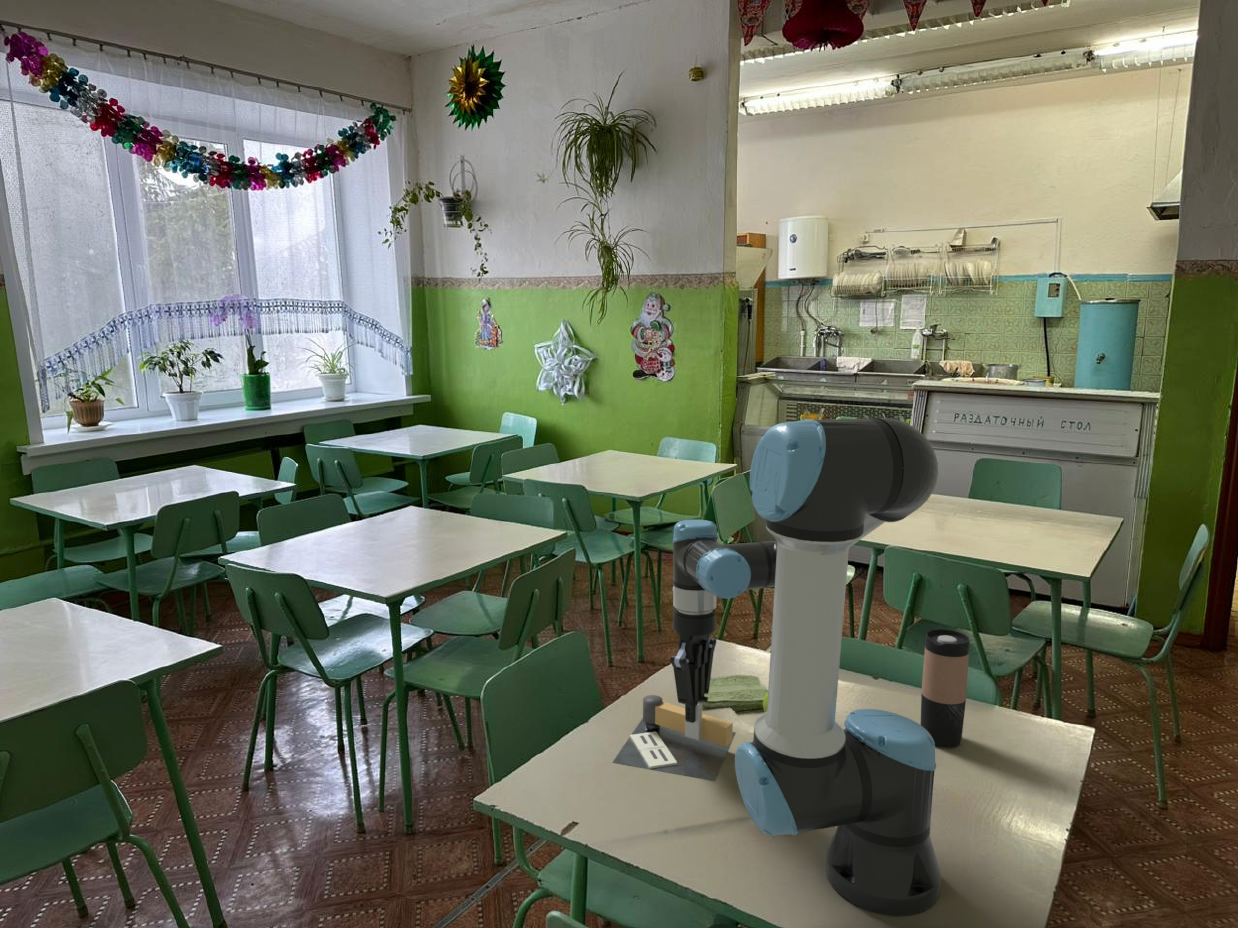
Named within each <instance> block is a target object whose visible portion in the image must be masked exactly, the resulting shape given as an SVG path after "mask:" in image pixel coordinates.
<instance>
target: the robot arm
mask: <svg viewBox="0 0 1238 928" xmlns="http://www.w3.org/2000/svg"><path fill="white" fill-rule="evenodd" d="M936 455H937V454H936V452H935V450H934V448H933V445H932V444H931V442H930V441H929V440H928V439H927V438H926V436H925V435H924V434H923V433H922V432H920V430H918V429H917V428H916V427H914V426H913V425H911V424H908V423H907V422H905V421H902V420H899V419H896V418H889V417H872V418H847V419H846V418H841V419H840V418H838V419H837V418H832V419H830V418H829V419H826V418H825V419H823V418H822V419H810V418H806V419H801V420H797V421H788V422H787V421H786V422H780V423H777V424H775V425H773V426H772V427H770V428H768V430H766V432H765V434H764V435H763V436H762V437H761V438H760V440H759V441H758V443H757V446H756V448H755V450H754V454H753V456H752V461H751V465H750V470H749V490H750V492H752V495H751V502H752V505H753V507H754V508H753V509H755V511H756V513H757V514H758V515H759V517H761V518H762V519H763V520H765V521H766V523H765V528H766V530H767V532H769V533H770V534H771V536H772V537H773V538H774V539H775V540H770V541H767V540H766V541H757V542H756V541H755V542H744V543H743V542H742V543H730V544H729V543H728V544H727V543H726V544H723V543H720V542H718V539H719V536H718V530H717V525H716V523H714V522H713V521H710V520H706V519H685V520H680V521H678V522H676V523H675V524H674V527H673V538H672V541H671V544H672V555H673V556H672V571H673V572H672V573H673V575H672V585H673V587H672V589H671V590H672V593H673V595H672V598H673V599H672V601H673V602H672V603H673V604H672V606H673V607H674V609H673V610H672V629H673V630H674V631H675V632H676V633H677V634H678V636H679V639H678V644H677V648H678V652H677V654H676V655H674V654H672V655H671V656H670V660H669V661H670V663H671V665H672V667H673V668H672V669H673V675H674V681H675V689H676V690H675V691H676V697H677V702H678V703H679V704H683V705H684V708H685V736H686V737H689V738H693V739H696V740H699V739H700V738H702V714H703V710H702V701H704V702H707V701H708V697H705V696H704V695H705V694H708V693H709V686H710V678H712V668H713V662H714V661H713V660H714V653H715V649H716V646H717V639H716V638H712V637H710V635H711V634H713V633H714V632H716V629H717V612H716V610H715V609H716V608H717V598H720V599H733V598H736V597H737V596H739V595H741V594H742V593H744V592H745V591H746V590H756V589H765V588H773V587H774V590H773V591H774V592H773V593H774V594H773V607H772V608H773V609H772V624H771V640H770V641H771V642H770V658H769V673H768V674H769V675H768V687H767V688H768V689H767V690H768V703H767V712H764V713H762V714H761V715H760V716H758V717H757V719H756V720H755V722H754V726H753V727H754V728H753V738H752V739H753V741H752V742H749V741H744V743H742V744H740V745H739V746H738V747H737V748H736V750H735V754H734V768H735V775H736V780H737V785H738V789H739V791H740V794H741V798H742V801H743V804H744V806H745V808H746V810H747V812H748V815H749V816H750V818H751V820H752V822H753V823H754V824H755V826H756V827H757V828H758V830H760V831H761V832H762V833H763V834H765V835H766V836H767V835H768V836H770V837H771V836H772V837H777V836H785V835H792V836H797V834H799V833H804V832H805V833H806V832H809V831H816V830H823V829H828V828H829V829H830V828H834V827H836V829H835V832H834V834H833V837H832V839H831V840H830V842H829V846H828V848H827V851H826V856H825V857H826V858H825V874H826V877H827V880H828V882H829V883H830V885H831V886H832V887H833V889H834V890H835V891H836V892H837V893H838V894H839V895H840V896H841V897H843V898H844V899H846V900H847V901H849V902H851V903H852V904H854V905H855V906H858V907H861V908H863V909H865V910H867V911H871V912H874V913H879V914H882V915H883V914H884V915H891V916H909V915H915V914H919V913H922V912H924V911H926V910H928V909H930V908H931V907H933V906H935V904H936V902H937V901H938V899H939V897H940V893H941V880H942V879H941V870H940V867H939V863H938V859H937V856H936V853H935V849H934V845H933V842H932V838H931V835H930V834H931V821H932V820H931V819H932V809H933V808H932V806H933V794H934V792H933V791H934V780H935V770H936V768H937V764H936V746H935V744H934V740H933V738H932V736H931V735H930V733H929V732H928V731H927V730H926V729H925V728H924V727H922V726H921V723H920V724H919V722H916V721H915V720H912V719H910V718H908V717H906V716H903V715H901V714H898V713H894V712H892V711H888V710H883V709H875V708H860V709H855V710H852V711H850V712H849V714H847V716H846V719H844V723H843V724H844V729H843V727H842V726H841V725H840V724H839V723H837V721H836V714H837V713H836V712H837V711H836V710H837V702H838V701H837V699H838V698H837V697H838V688H839V687H838V685H839V674H840V673H839V672H840V663H841V662H840V661H841V649H842V639H843V636H842V635H843V625H844V613H845V612H844V611H845V602H846V600H845V599H846V591H847V590H846V589H847V578H848V577H847V576H848V565H849V563H848V562H849V551H850V547H852V546H853V545H855V544H856V543H858V542H859V541H861V540H862V539H864V538H865V537H866V536H868V535H869V534H870V533H872V532H873V531H874V530H876V529H877V528H879V527H880V526H882V525H883V524H885V523H896V522H899V521H903V520H904V519H906V518H907V517H909V516H910V515H912V514H913V513H914V512H915V511H918V510H919V509H920V508H921V507H922V506H923V505H924V504H925V503H926V502H927V501H928V500H929V498H930V497H931V495H933V492H934V491H935V488H936V485H937V482H938V477H939V467H938V466H939V465H938V464H939V463H938V460H937V459H938V458H937V456H936Z"/></svg>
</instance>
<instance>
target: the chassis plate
mask: <svg viewBox="0 0 1238 928" xmlns="http://www.w3.org/2000/svg"><path fill="white" fill-rule="evenodd" d="M655 731H656V732H657V734H658V735H659V737H660V738H661V740H662V741H663V743H664V744H665V746H666V747H667V748H668V750H669V751H670V753H671V754H672V756H673V757H674V758H675V760H676V761H677V765H671V766H665V767H658V768H651V769H649V767H648V765H647V764H646V762H645V761H644V759H643V757H642V756H641V754H640V753H639V751H638V749H637V748H636V746H635V745H634V743H633V741H632V740H631V738H630V736H629V737H628V739H627V740H626V742H625V743H624V745H623V746H622V748H621V749H620V751H619V752H618V754H617V755H616V756H615V758H614V759H613V761H612V763H613V764H617V765H623V766H629V767H635V768H639V769H640V768H641V769H645V770H651V771H657V772H662V773H668V774H674V775H679V776H684V777H691V778H695V779H700V780H704V781H705V780H706V781H712V782H716V779H717V776H718V775H719V772H720V770H721V767H722V765H723V763H724V760H725V758H726V756H727V754H728V752H729V749H730V747H731V744H732V742H731V743H730V744H729V745H727V746H726V747H725V746H721V745H718V744H715V743H712V742H709V741H706V740H703V739H699V740H696V739H693V738H689V737H686V736H685V733H681V732H678V731H675V730H672V729H669V728H666V727H663V726H660V725H657V724H648V723H646V722H644V721H643V717H642V718H641V719H640V721H639V722H638V724H637V725H636V727H635V728H634V730H633V731H632V733H631V734H630V735H633V734H641V733H648V732H655ZM735 735H736V732H735V731H734V732H733V731H732V741H733V740H734V737H735Z"/></svg>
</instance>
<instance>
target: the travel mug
mask: <svg viewBox="0 0 1238 928" xmlns="http://www.w3.org/2000/svg"><path fill="white" fill-rule="evenodd" d="M970 642H971V641H970V637H969V636H968V635H966V634H965V633H962V632H960V631H956V630H950V629H945V628H944V629H943V628H942V629H941V628H937V629H936V628H935V629H931V630H929V631H927V632H926V634H925V642H924V643H925V644H924V654H923V666H922V667H923V670H922V681H921V695H920V696H921V698H920V700H921V701H920V702H921V703H920V725H921V726H922V727H924V728H925V729H926V730H927V731H928V732H929V733H930V735H931V736H932V738H933V740H934V744H935V748H941V749H954V748H957V747H959V746H961V744H962V738H963V729H964V721H965V720H964V719H965V714H966V713H965V712H966V702H967V692H968V691H967V689H968V688H967V687H968V675H969V673H968V672H969V661H970V659H969V658H970V657H969V656H970Z"/></svg>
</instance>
